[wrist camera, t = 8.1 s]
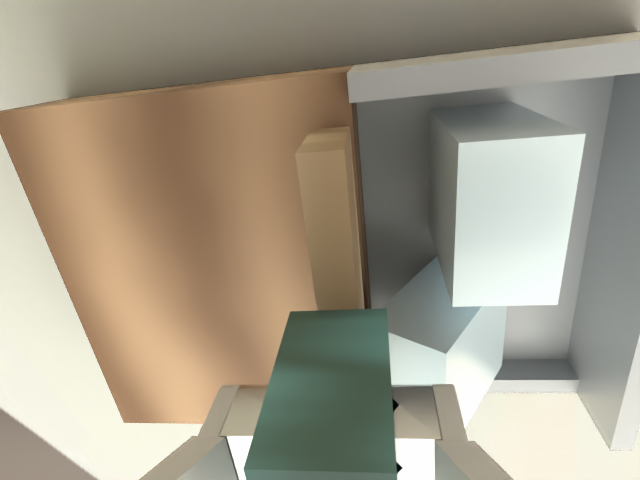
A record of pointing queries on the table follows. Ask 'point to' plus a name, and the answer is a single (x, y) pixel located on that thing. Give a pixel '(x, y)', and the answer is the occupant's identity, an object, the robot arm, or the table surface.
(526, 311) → the tray
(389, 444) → the teal-headed mallet
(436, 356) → the tile far
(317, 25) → the table surface
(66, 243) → the tan wooden board
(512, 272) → the tile near
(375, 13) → the table surface
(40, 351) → the table surface
